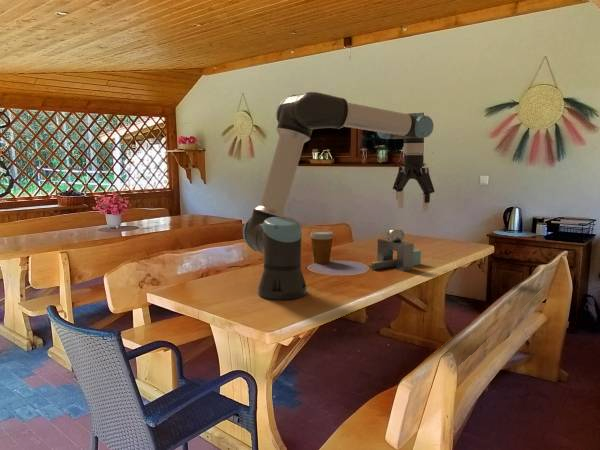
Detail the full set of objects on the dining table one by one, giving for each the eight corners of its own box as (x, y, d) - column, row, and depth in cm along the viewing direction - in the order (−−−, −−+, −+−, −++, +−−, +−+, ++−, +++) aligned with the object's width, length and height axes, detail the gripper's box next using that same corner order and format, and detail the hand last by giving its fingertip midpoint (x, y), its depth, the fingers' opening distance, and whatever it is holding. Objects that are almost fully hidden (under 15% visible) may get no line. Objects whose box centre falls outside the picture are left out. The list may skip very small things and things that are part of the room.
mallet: (378, 271, 182) (378, 257, 181) (368, 268, 187) (368, 254, 186) (420, 264, 194) (420, 250, 193) (410, 261, 198) (410, 248, 198)
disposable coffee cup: (331, 264, 193) (332, 234, 191) (308, 263, 195) (308, 233, 193) (335, 259, 202) (335, 230, 200) (312, 258, 204) (312, 230, 202)
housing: (403, 271, 183) (404, 233, 180) (377, 263, 195) (378, 227, 193) (412, 269, 185) (414, 231, 183) (386, 262, 197) (387, 226, 195)
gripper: (445, 154, 179) (443, 212, 182) (398, 154, 200) (397, 205, 204) (430, 154, 175) (428, 213, 179) (384, 154, 196) (383, 207, 200)
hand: (412, 209), depth 191 cm, fingers open, 13 cm apart
